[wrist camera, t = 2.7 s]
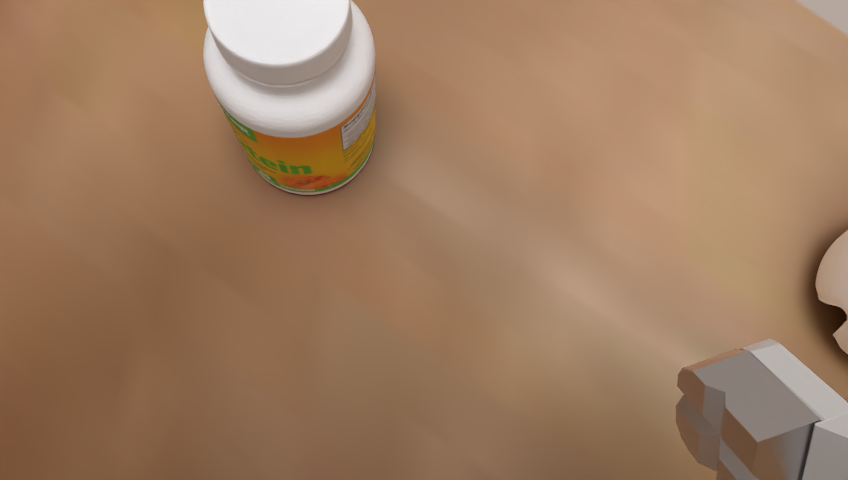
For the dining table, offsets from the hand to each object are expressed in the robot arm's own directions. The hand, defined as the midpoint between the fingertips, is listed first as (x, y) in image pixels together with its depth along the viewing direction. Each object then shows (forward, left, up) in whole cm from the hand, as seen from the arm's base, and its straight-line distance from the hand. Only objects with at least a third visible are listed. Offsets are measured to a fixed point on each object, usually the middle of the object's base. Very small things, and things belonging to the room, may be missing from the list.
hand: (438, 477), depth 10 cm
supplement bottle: (-8, +10, -16) cm, 20 cm away
